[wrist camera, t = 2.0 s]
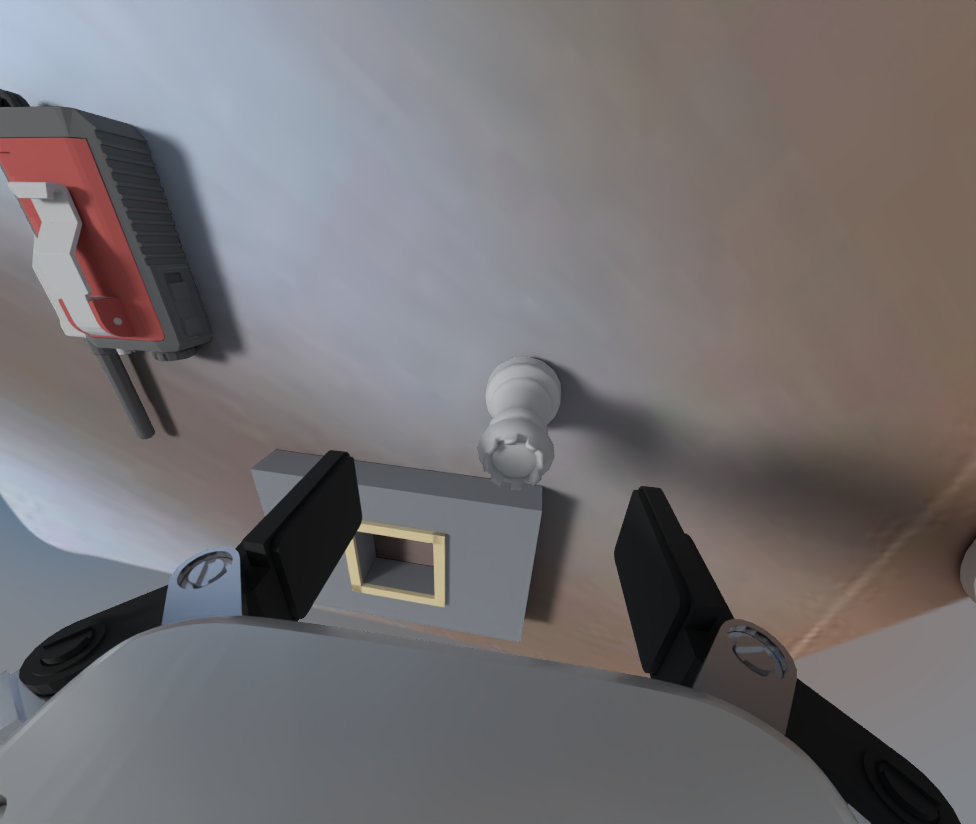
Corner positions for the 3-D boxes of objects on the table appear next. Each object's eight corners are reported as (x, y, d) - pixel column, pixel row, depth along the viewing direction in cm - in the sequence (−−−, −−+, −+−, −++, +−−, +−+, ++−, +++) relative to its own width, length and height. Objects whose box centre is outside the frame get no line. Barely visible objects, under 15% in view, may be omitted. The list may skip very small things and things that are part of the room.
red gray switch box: (-2, 100, 18) (153, 428, 27) (-151, 62, 14) (87, 459, 23) (142, 97, 17) (254, 438, 26) (24, 54, 13) (203, 473, 22)
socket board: (542, 486, 24) (542, 514, 21) (521, 612, 30) (519, 646, 28) (275, 449, 26) (247, 471, 23) (308, 575, 32) (289, 603, 30)
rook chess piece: (576, 395, 20) (593, 476, 13) (518, 434, 22) (507, 524, 15) (529, 338, 19) (521, 393, 12) (472, 384, 21) (436, 455, 14)
